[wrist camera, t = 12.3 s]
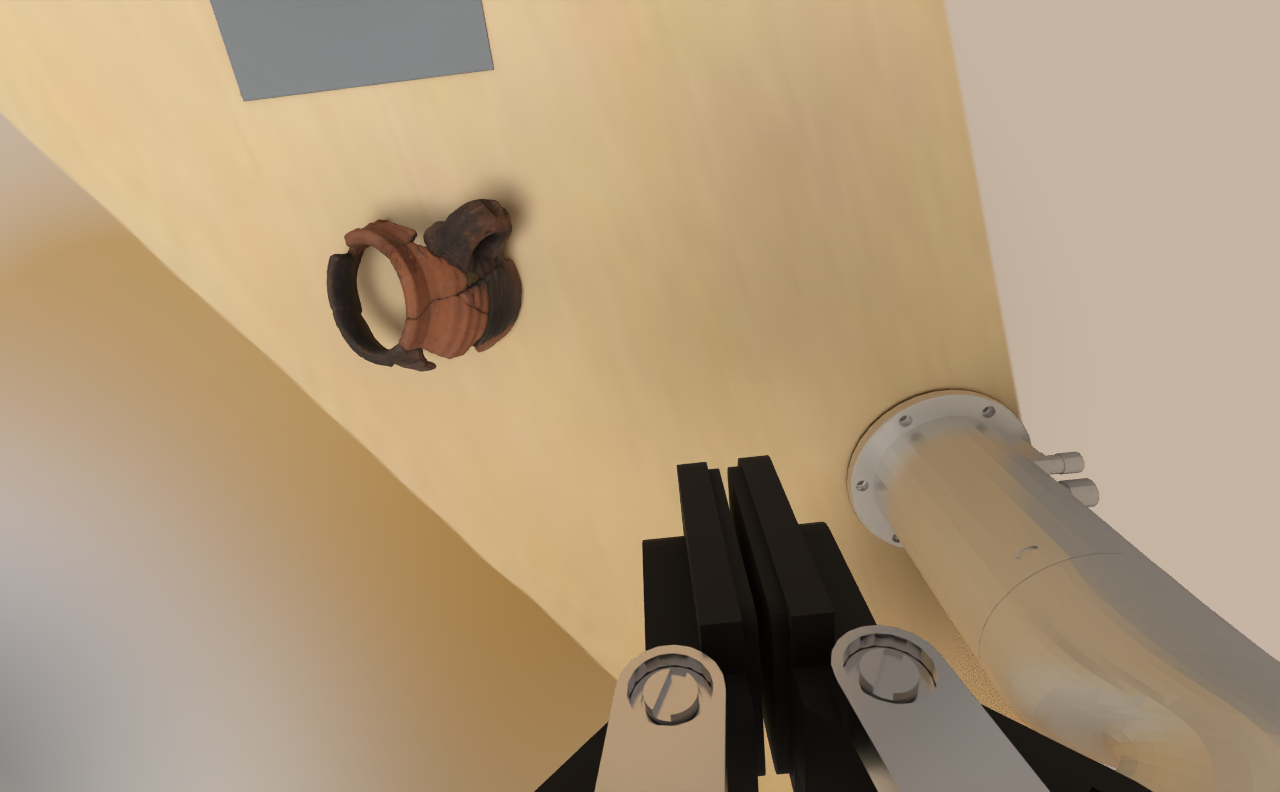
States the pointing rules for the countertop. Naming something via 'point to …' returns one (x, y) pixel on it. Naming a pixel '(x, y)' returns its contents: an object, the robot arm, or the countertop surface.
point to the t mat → (348, 42)
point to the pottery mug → (433, 286)
